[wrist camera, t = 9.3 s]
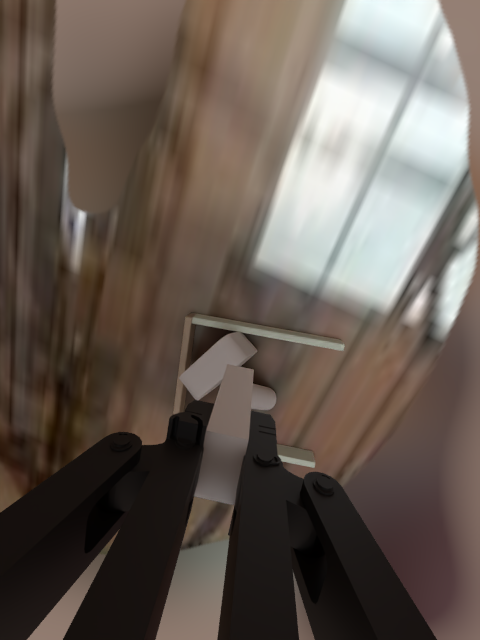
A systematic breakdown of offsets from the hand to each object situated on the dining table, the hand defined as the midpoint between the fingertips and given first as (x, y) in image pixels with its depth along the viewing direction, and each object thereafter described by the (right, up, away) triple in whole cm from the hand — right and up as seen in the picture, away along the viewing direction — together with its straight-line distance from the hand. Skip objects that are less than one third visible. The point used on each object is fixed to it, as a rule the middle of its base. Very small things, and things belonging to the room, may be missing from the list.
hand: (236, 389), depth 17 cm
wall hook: (+1, -3, +25) cm, 26 cm away
